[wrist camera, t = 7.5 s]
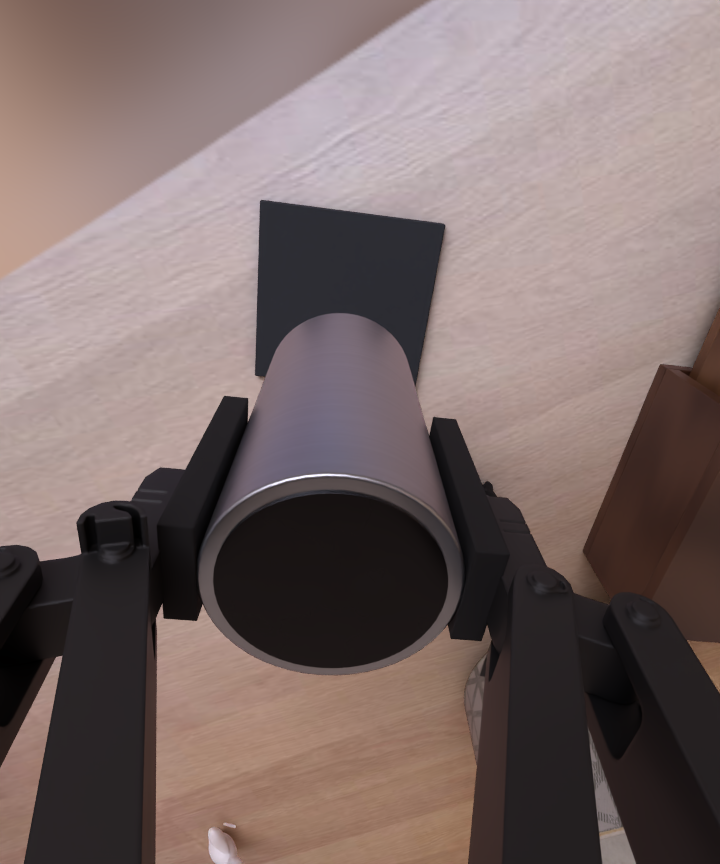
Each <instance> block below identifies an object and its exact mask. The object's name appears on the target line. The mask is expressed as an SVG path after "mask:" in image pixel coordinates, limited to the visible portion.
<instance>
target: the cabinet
mask: <svg viewBox="0 0 720 864" xmlns="http://www.w3.org/2000/svg"><path fill="white" fill-rule="evenodd" d="M691 370H692V368H690V367H681V366H672V365H664V364H660V366H659V368H658V371H657V373H656V376H655V378H654V381H653V383H652V385H651V388H650V390H649V393H648V395H647V397H646V400H645V402H644V405H643V407H642V409H641V412H640V414H639V417H638V419H637V421H636V424H635V426H634V429H633V431H632V433H631V436H630V438H629V441H628V443H627V445H626V448H625V450H624V453H623V455H622V458H621V460H620V462H619V465H618V467H617V470H616V472H615V474H614V477H613V479H612V482H611V484H610V486H609V489H608V491H607V494H606V496H605V498H604V501H603V503H602V506H601V508H600V510H599V513H598V515H597V518H596V520H595V523H594V525H593V527H592V530H591V532H590V535H589V537H588V539H587V542H586V544H585V547H584V549H583V552H584V554H585V556H586V557H587V560H588V561H589V563H590V565H591V566H592V568H593V570H594V572H595V573H596V575H597V577H598V578H599V580H600V582H601V584H602V585H603V587H604V589H605V590H606V592H607V594H608V596H609V597H610V599H611V600H612V597H613V596H614V595H616V594H618V593H620V592H632V593H635V594H639V595H643V596H645V597H647V598H649V599H651V600H653V601H655V602H656V603H657V604H659V605H660V606H661V607H663V608H664V609H665V610H666V611H667V612H668V613H669V615H670V616H671V617H672V618H673V620H674V621H675V623H676V624H677V626H678V628H679V629H680V631H681V632H682V634H683V636H684V637H685V639H686V640H689V641H702V642H715V643H720V396H718V395H717V394H715V393H714V392H712V391H710V390H709V389H707V388H706V387H704V386H703V385H701V384H700V383H698V382H697V381H695V380H694V379H692V378H691V377H689V375H690V373H691Z"/></svg>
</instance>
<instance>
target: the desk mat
mask: <svg viewBox="0 0 720 864" xmlns="http://www.w3.org/2000/svg"><path fill="white" fill-rule="evenodd" d="M444 229H445V224H442V223H435V222H427V221H419V220H411V219H404V218H396V217H388V216H381V215H373V214H365V213H358V212H350V211H342V210H335V209H327V208H319V207H312V206H304V205H296V204H288V203H281V202H273V201H265V200H261V201H260V225H259V260H258V295H257V329H256V364H255V375H256V376H264V377H266V374H267V372H268V369H269V366H270V364H271V361H272V359H273V356H274V354H275V351H276V349H277V348H278V346H279V344H280V343H281V341H282V340H283V339H284V338H285V336H286V335H287V334H288V333H289V332H291V331H292V330H293V329H294V328H295V327H297V326H298V325H300V324H301V323H303V322H305V321H307V320H309V319H311V318H314V317H317V316H320V315H325V314H332V313H348V314H353V315H358V316H361V317H365V318H367V319H370V320H372V321H374V322H376V323H377V324H379V325H380V326H382V327H384V328H385V329H386V330H387V331H388V332H389V333H391V334H392V336H393V337H394V338H395V339H396V340H397V341H398V343H399V344H400V346H401V347H402V349H403V351H404V353H405V355H406V358H407V361H408V364H409V367H410V371H411V374H412V378H413V381H414V385H415V386H416V380H417V375H418V369H419V364H420V359H421V353H422V348H423V342H424V337H425V332H426V326H427V321H428V316H429V310H430V305H431V299H432V294H433V289H434V283H435V278H436V272H437V267H438V262H439V256H440V251H441V245H442V240H443V235H444Z"/></svg>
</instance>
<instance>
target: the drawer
mask: <svg viewBox="0 0 720 864" xmlns="http://www.w3.org/2000/svg"><path fill="white" fill-rule="evenodd" d="M689 377H691V378H692V379H694V380H695V381H697V382H698V383H700V384H701V385H703V386H704V387H706V388H707V389H709V390H710V391H712V392H714V393H715V394H717V395H718V396H720V308H719V310H718V312H717V314H716V317H715V319H714V321H713V323H712V326H711V328H710V330H709V332H708V335H707V337H706V339H705V341H704V344H703V346H702V348H701V350H700V352H699V355H698V357H697V359H696V361H695V364H694V366H693V368H692V370H691V373H690V375H689Z"/></svg>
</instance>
